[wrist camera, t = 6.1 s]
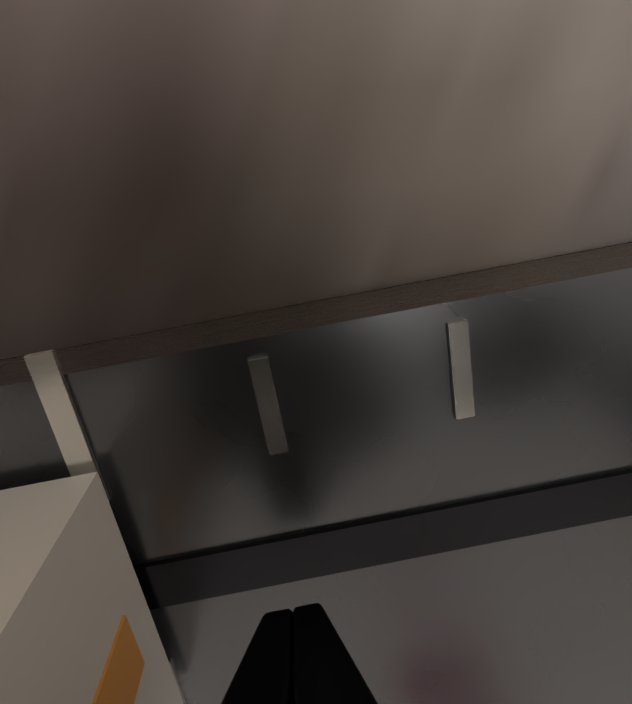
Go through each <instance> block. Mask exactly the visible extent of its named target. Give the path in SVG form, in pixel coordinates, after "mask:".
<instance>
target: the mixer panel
mask: <svg viewBox="0 0 632 704" xmlns="http://www.w3.org/2000/svg"><path fill="white" fill-rule="evenodd" d="M93 472H98V474H99V477H100V480H101V482H102V485H103V488H104V490H105V493H106V496H107V498H108V501H109V504H110V506H111V509H112V512H113V514H114V517H115V520H116V522H117V525H118V528H119V530H120V533H121V536H122V538H123V541H124V544H125V546H126V549H127V552H128V554H129V557H130V560H131V562H132V565H133V568H134V570H135V573H136V576H137V578H138V581H139V584H140V586H141V589H142V592H143V594H144V597H145V600H146V602H147V605H148V608H149V610H150V613H151V616H152V618H153V621H154V624H155V626H156V629H157V632H158V634H159V637H160V640H161V642H162V645H163V648H164V650H165V653H166V656H167V658H168V661H169V664H170V667H171V669H172V672H173V675H174V677H175V680H176V683H177V685H178V688H179V691H180V693H181V696H182V699H183V701H184V703H183V704H221V702H222V700H223V698H224V696H225V694H226V692H227V690H228V688H229V685H230V683H231V681H232V679H233V677H234V675H235V673H236V671H237V669H238V667H239V665H240V662H241V660H242V658H243V656H244V654H245V652H246V650H247V648H248V646H249V644H250V641H251V639H252V637H253V635H254V633H255V631H256V629H257V627H258V625H259V623H260V620H261V619H262V617H263V615H264V614H266V613H268V612H272V611H277V610H283V609H290V610H292V612H293V610H294V608H295V607H298V606H303V605H308V604H313V603H319V604H321V605H322V607H323V608H324V610H325V612H326V613H327V615H328V617H329V619H330V620H331V622H332V624H333V626H334V627H335V629H336V631H337V633H338V634H339V636H340V638H341V640H342V641H343V643H344V645H345V647H346V648H347V650H348V652H349V654H350V655H351V657H352V659H353V661H354V662H355V664H356V666H357V668H358V669H359V671H360V673H361V675H362V676H363V678H364V680H365V682H366V683H367V685H368V687H369V689H370V690H371V692H372V694H373V696H374V697H375V699H376V701H377V703H378V704H632V242H631V243H625V244H620V245H615V246H609V247H604V248H599V249H593V250H588V251H583V252H577V253H572V254H567V255H561V256H556V257H551V258H545V259H540V260H535V261H529V262H524V263H519V264H513V265H508V266H502V267H497V268H492V269H486V270H481V271H476V272H470V273H465V274H460V275H454V276H449V277H444V278H438V279H433V280H428V281H422V282H417V283H412V284H406V285H401V286H396V287H390V288H385V289H380V290H374V291H369V292H364V293H358V294H353V295H348V296H342V297H337V298H332V299H326V300H321V301H316V302H310V303H305V304H300V305H294V306H289V307H283V308H278V309H273V310H267V311H262V312H257V313H251V314H246V315H241V316H235V317H230V318H225V319H219V320H214V321H209V322H203V323H198V324H193V325H187V326H182V327H177V328H171V329H166V330H161V331H155V332H150V333H145V334H139V335H134V336H129V337H123V338H118V339H113V340H107V341H102V342H97V343H91V344H86V345H81V346H75V347H70V348H64V349H59V350H55V349H52V350H46V351H41V352H36V353H30V354H26V355H25V356H22V357H16V358H11V359H6V360H0V490H4V489H9V488H15V487H20V486H25V485H30V484H35V483H41V482H46V481H51V480H56V479H62V478H67V477H72V476H77V475H82V474H88V473H93Z"/></svg>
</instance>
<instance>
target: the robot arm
mask: <svg viewBox="0 0 632 704" xmlns="http://www.w3.org/2000/svg"><path fill="white" fill-rule="evenodd" d="M221 704H378V703H377V701H376V699H375V697H374V696H373V694H372V692H371V690H370V689H369V687H368V685H367V683H366V682H365V680H364V678H363V676H362V675H361V673H360V671H359V669H358V668H357V666H356V664H355V662H354V661H353V659H352V657H351V655H350V654H349V652H348V650H347V648H346V647H345V645H344V643H343V641H342V640H341V638H340V636H339V634H338V633H337V631H336V629H335V627H334V626H333V624H332V622H331V620H330V619H329V617H328V615H327V613H326V612H325V610H324V608H323V607H322V605H321V604H319V603H313V604H308V605H303V606H298V607H295V608H294V610H293V612H292V610H290V609H283V610H277V611H272V612H268V613H266V614H264V615H263V617H262V619H261V620H260V623H259V625H258V627H257V629H256V631H255V633H254V635H253V637H252V639H251V641H250V644H249V646H248V648H247V650H246V652H245V654H244V656H243V658H242V660H241V662H240V665H239V667H238V669H237V671H236V673H235V675H234V677H233V679H232V681H231V683H230V685H229V688H228V690H227V692H226V694H225V696H224V698H223V700H222V702H221Z"/></svg>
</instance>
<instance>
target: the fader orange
mask: <svg viewBox="0 0 632 704" xmlns="http://www.w3.org/2000/svg"><path fill="white" fill-rule="evenodd" d="M183 703H184V701H183V699H182V696H181V693H180V691H179V688H178V685H177V683H176V680H175V677H174V675H173V672H172V669H171V667H170V664H169V661H168V658H167V656H166V653H165V650H164V648H163V645H162V642H161V640H160V637H159V634H158V632H157V629H156V626H155V624H154V621H153V618H152V616H151V613H150V610H149V608H148V605H147V602H146V600H145V597H144V594H143V592H142V589H141V586H140V584H139V581H138V578H137V576H136V573H135V570H134V568H133V565H132V562H131V560H130V557H129V554H128V552H127V549H126V546H125V544H124V541H123V538H122V536H121V533H120V530H119V528H118V525H117V522H116V520H115V517H114V514H113V512H112V509H111V506H110V504H109V501H108V498H107V496H106V493H105V490H104V488H103V485H102V482H101V480H100V477H99V474H98V472H93V473H88V474H82V475H77V476H72V477H67V478H62V479H56V480H51V481H46V482H41V483H35V484H30V485H25V486H20V487H15V488H9V489H4V490H0V704H183Z"/></svg>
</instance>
